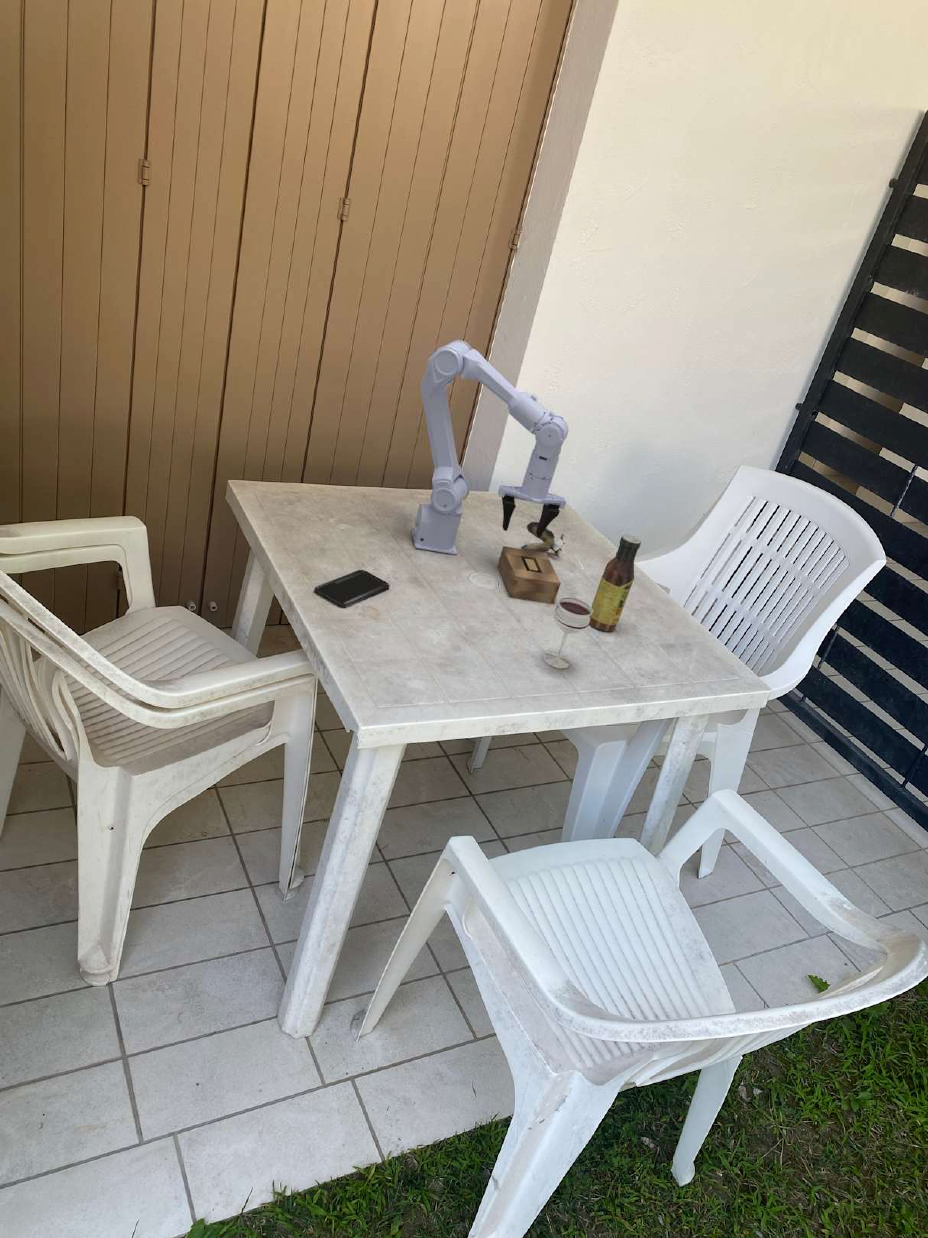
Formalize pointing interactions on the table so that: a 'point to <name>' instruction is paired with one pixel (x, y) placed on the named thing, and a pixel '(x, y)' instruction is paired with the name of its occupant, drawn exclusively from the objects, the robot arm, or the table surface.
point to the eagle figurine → (544, 540)
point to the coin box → (528, 575)
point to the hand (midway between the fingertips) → (521, 531)
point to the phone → (351, 588)
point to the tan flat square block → (530, 565)
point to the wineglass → (568, 624)
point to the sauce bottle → (615, 585)
